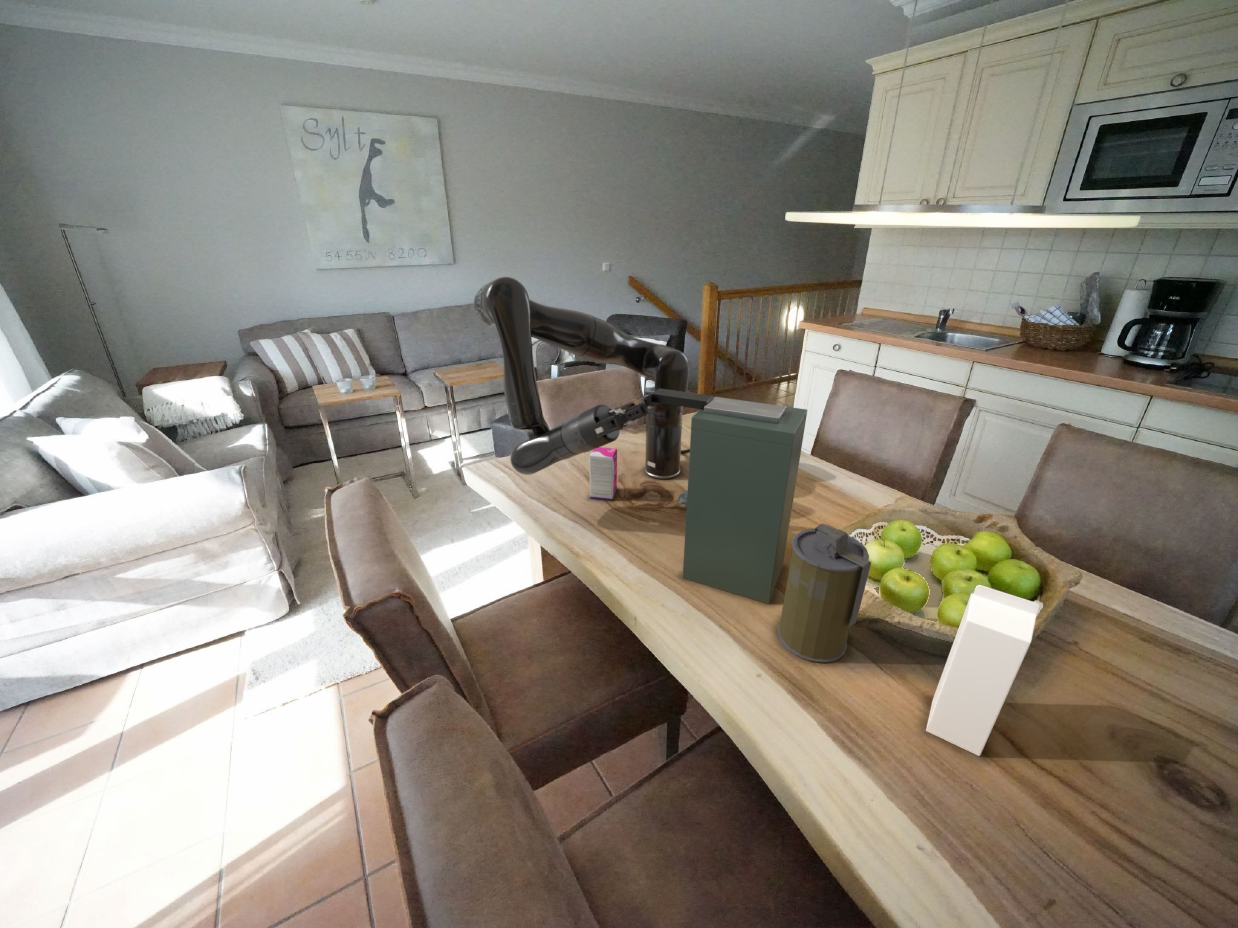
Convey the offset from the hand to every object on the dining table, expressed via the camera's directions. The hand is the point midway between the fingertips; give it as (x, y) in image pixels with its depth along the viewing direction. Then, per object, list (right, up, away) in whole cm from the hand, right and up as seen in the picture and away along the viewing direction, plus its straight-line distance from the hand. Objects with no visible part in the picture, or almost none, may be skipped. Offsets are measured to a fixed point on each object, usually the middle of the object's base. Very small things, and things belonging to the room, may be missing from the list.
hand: (656, 400), depth 90 cm
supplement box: (-10, -19, +35) cm, 41 cm away
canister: (+24, -39, -9) cm, 47 cm away
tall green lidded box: (+15, -32, +7) cm, 36 cm away
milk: (+37, -46, -23) cm, 64 cm away
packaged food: (+14, -22, +29) cm, 39 cm away
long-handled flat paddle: (+9, -2, -4) cm, 11 cm away
